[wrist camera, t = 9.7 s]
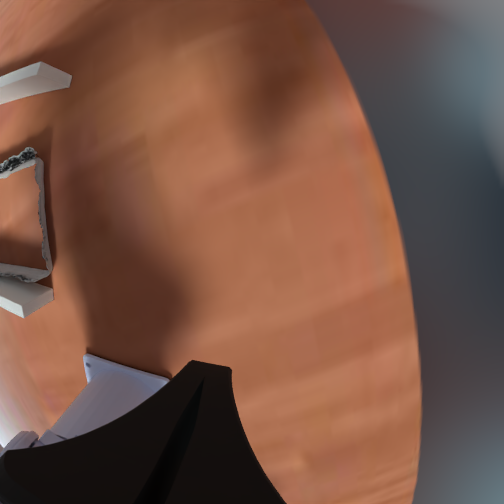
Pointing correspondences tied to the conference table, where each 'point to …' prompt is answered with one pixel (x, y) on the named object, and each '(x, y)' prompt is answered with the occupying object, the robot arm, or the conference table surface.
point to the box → (3, 90)
